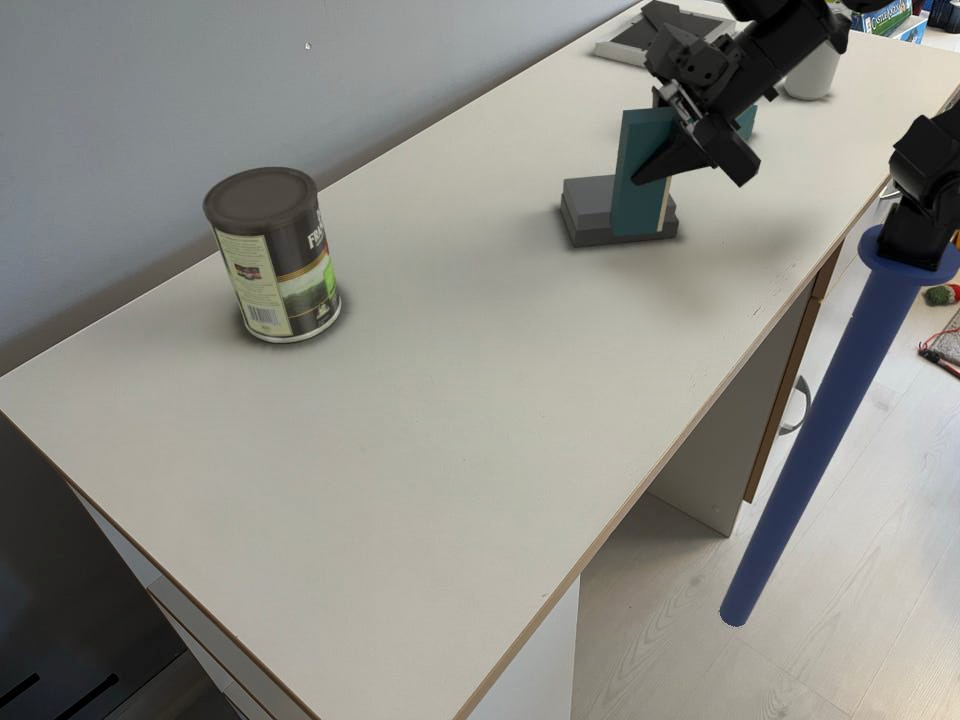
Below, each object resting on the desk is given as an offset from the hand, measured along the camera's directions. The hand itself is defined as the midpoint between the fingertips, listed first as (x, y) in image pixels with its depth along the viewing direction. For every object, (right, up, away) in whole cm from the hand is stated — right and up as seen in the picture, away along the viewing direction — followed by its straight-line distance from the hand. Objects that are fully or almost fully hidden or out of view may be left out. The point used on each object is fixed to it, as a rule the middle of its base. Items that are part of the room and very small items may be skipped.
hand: (629, 175), depth 72 cm
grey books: (+1, -2, +13) cm, 14 cm away
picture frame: (+17, +35, +50) cm, 63 cm away
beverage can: (+34, +21, +36) cm, 54 cm away
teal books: (+15, +13, +27) cm, 34 cm away
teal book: (+2, -4, +5) cm, 7 cm away
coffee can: (-35, -13, +4) cm, 37 cm away
